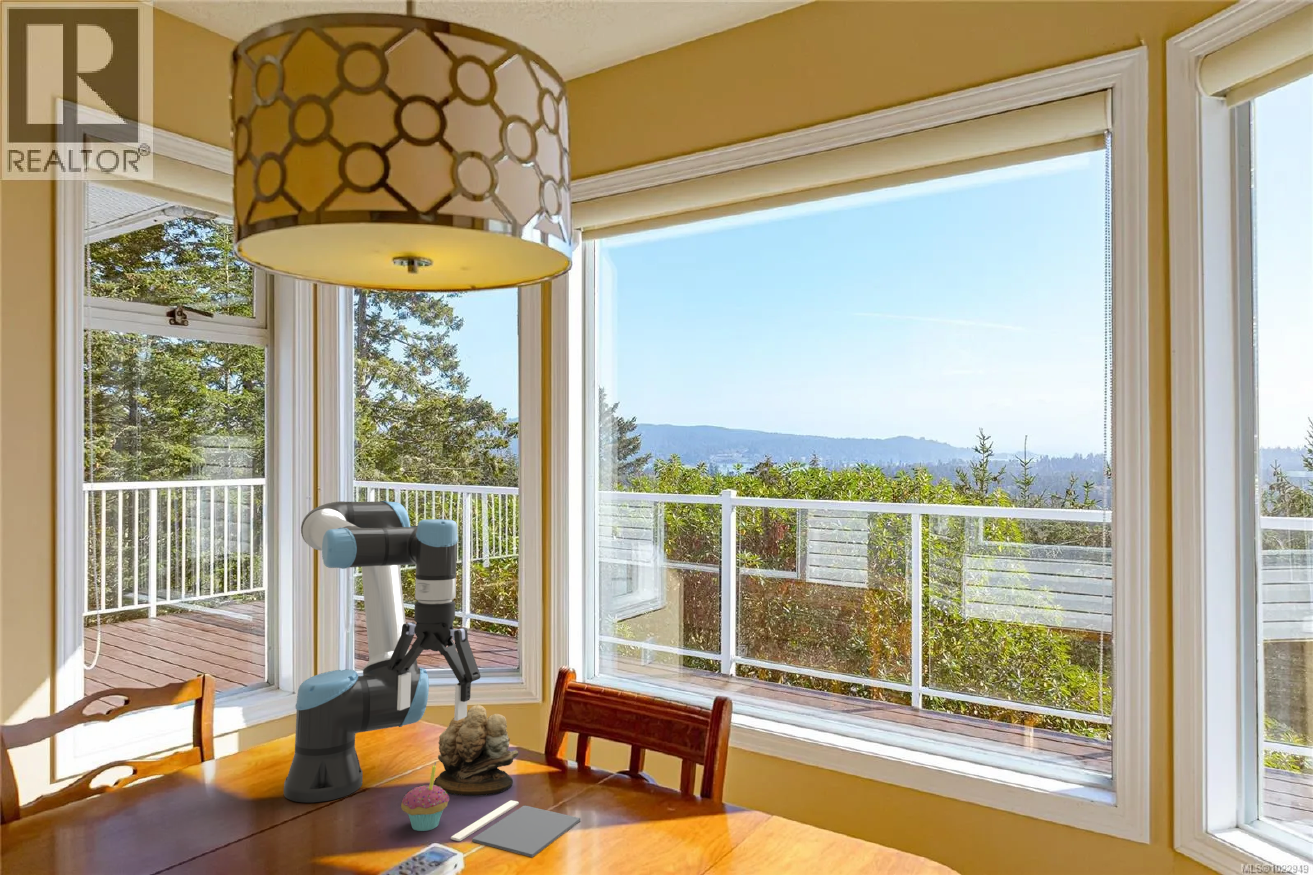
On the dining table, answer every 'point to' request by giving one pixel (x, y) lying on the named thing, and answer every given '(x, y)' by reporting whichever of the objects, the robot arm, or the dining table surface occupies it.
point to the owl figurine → (475, 755)
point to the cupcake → (425, 805)
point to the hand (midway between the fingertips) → (431, 713)
